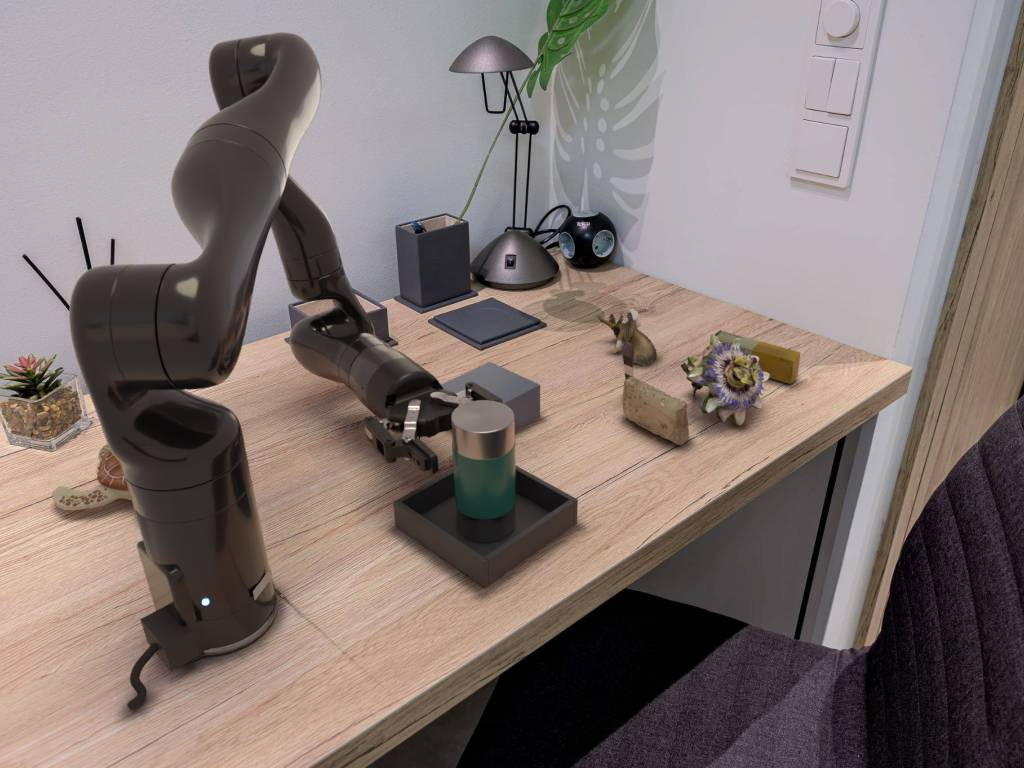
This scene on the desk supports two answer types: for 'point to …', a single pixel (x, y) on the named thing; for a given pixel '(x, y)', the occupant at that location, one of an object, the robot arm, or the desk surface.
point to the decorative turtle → (106, 493)
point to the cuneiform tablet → (654, 408)
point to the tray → (537, 524)
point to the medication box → (767, 356)
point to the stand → (503, 390)
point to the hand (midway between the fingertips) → (472, 451)
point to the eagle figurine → (632, 337)
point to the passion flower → (727, 380)
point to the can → (484, 470)
